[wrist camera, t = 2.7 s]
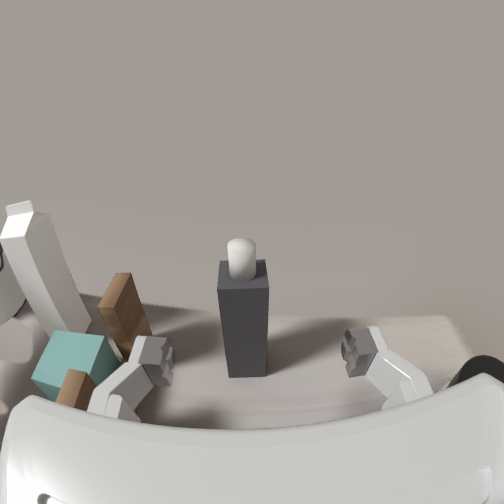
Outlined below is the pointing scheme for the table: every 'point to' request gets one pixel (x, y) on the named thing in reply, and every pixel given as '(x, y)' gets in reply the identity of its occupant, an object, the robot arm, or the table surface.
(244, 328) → the grey capped bottle
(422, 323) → the table surface
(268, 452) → the robot arm
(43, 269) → the milk
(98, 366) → the teal block
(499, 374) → the jar
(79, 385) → the brown notched panel
